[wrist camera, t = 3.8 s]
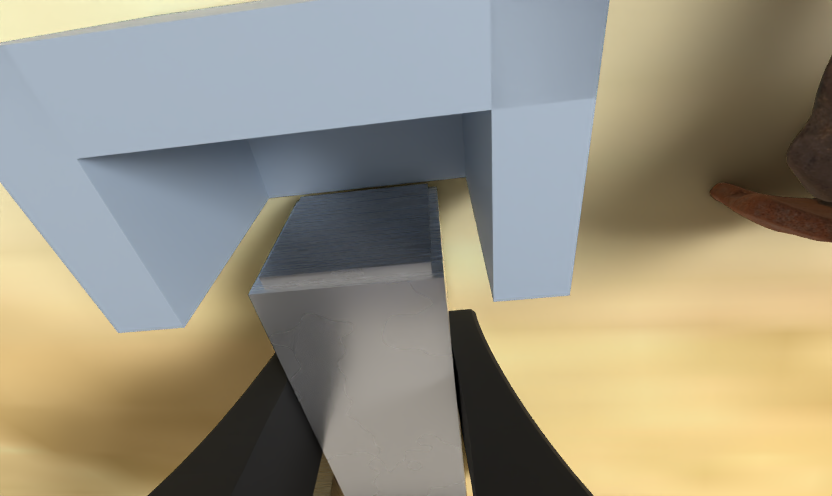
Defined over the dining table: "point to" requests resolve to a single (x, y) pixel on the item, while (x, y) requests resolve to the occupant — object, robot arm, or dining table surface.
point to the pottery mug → (814, 167)
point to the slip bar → (369, 337)
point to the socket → (297, 132)
